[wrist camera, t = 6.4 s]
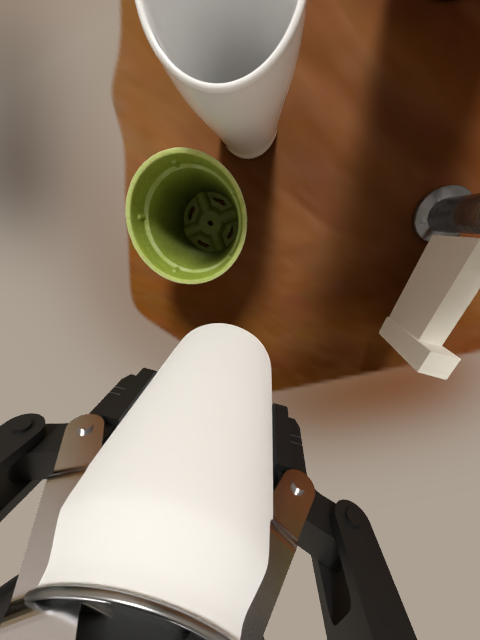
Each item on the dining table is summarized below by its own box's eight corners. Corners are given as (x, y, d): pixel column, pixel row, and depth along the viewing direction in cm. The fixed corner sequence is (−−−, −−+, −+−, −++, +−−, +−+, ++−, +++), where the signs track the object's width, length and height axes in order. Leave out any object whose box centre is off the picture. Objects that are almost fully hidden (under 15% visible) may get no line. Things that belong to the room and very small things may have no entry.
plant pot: (158, 246, 28) (113, 255, 20) (183, 155, 24) (140, 122, 16) (233, 279, 28) (219, 302, 20) (269, 196, 24) (268, 182, 16)
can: (227, 416, 18) (161, 722, 7) (159, 362, 17) (-50, 628, 6) (292, 366, 16) (344, 701, 5) (218, 299, 15) (62, 540, 4)
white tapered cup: (288, 161, 23) (318, 71, 9) (220, 175, 24) (155, 111, 10) (283, 70, 21) (311, -234, 7) (207, 89, 22) (100, -142, 8)
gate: (430, 234, 22) (502, 239, 15) (455, 240, 22) (539, 248, 15) (378, 332, 26) (417, 371, 19) (399, 338, 26) (446, 379, 19)
